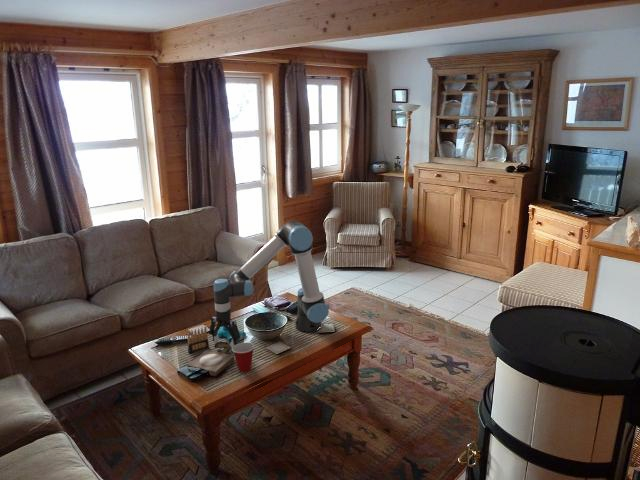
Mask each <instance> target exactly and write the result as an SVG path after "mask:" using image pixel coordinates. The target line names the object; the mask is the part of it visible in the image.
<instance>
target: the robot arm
mask: <svg viewBox="0 0 640 480" xmlns="http://www.w3.org/2000/svg"><path fill="white" fill-rule="evenodd" d="M313 241H314V238H313V234H312V231H310V229H309V228H308V227H306V226H305V225H304V224H303V223H301V222H300V221H297V220H291V221H287V222H286V223H285V224H283V225H282V226H281V227H280V228H279V229H277V231H275V233H274V235H273V237H272V238H271V239H270V240H269V241H268V242H266V244H265V245H264V246H262V248H260V249H259V250H258V251H257V252H256V253H255V254H254V255H253V256H252V257H251V258H250V259H249V260H248V261H247V262H246V263H245V264H243V265H242V266H241V267H240V268H239V269H238V270H234V271H232V272H231V274H230V275H229V280H228V279H227V278H219V279H215V281H214V282H213V297H214V299H213V300H214V309H215V310H214V311H215V313H214V314H215V315H214V316H212V317H211V318H210V321H211V322H210V327H209V331H208V332H209V335H211V336H212V341H213V343H214V344H213V345H214V346H215V344H216V343H217V342H220V341H219V337H218V335H217V332H218V330H219V329H220V328H222V327H226V329H227V330H228V331H229V333H230V335H231V337H232V340H231V341H232V347H233V346H234V345H237V344H238V342H237V340H238V339H240V338H241V337H240V334H239V331H240V330H239V328H238V325H237V320H236V319H234V320H233V319H232V318H231V316H232V312H231V301H230V300H231V298H239V297H248V296H252V295H254V283H253V281H252V280H250V279H251V278H252V277H253V276H254V275H256V274H257V273H258V272H259V271H260V270H261V269H262V268H263V267H264V266H265V265H267V263H269V261H271V260H272V259H273V258H274V257H275V256H276V255H277V254H278V253H280V251H281V250H283V248H284V247H285V248H286V247H289V250H290V253H291V254H292V256H293V255H294V259H295V262H296V267H297V271H298V275H299V281H300V284H301V288H299V289H298V290H297V316H296V319H295V323H294V327H295V329H296V330H297V331H299V330H300V331H299V332H302V331H303V333H313V332H312V331H314V332H316V330H317V329H318V328H319V327H321V325H323V323H322V322H324V321H325V320H326V319H327V317H328V316H329V311H330V309H329V307H328V305H327V303H326V301H325V297H324V293H323V292H321V291H320V287H319V283H318V278H317V274H316V269H315V264H314V260H313V257H312V250H313V249H314V247H313ZM216 323H217V324H216ZM321 328H322V327H321ZM238 330H239V331H238ZM304 331H305V332H304ZM317 331H318V330H317ZM238 341H239V340H238ZM231 351H232V350H231ZM232 353H233V351H232Z"/></svg>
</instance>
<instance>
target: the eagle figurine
mask: <svg viewBox="0 0 640 480" xmlns="http://www.w3.org/2000/svg"><path fill="white" fill-rule="evenodd" d="M213 347H214V349H222V350H221V351H219V352H220V353H225V354H229V353H230V351H232V342H231V340H230V341H228V340H227V341H219V342H217V343H216V344H215V345H214V346H213Z"/></svg>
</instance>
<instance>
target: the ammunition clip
mask: <svg viewBox="0 0 640 480" xmlns="http://www.w3.org/2000/svg"><path fill="white" fill-rule="evenodd" d="M209 348H210V344H209V337H208V332H207V327H206V326H204V328H203V327H201V328H197V330H196V329H194V331H193V330H191V331H189V330H187V352H188V354H192V353H196V352H199V351H203V350H205V349H206V350H208V349H209Z"/></svg>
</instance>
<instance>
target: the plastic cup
mask: <svg viewBox="0 0 640 480" xmlns="http://www.w3.org/2000/svg"><path fill="white" fill-rule="evenodd" d="M254 349H255V344H254V343H251V342H240V343H237V345H234V346H233V347H232V350H231V351H233V352H232V353H233V355H234V360H235V362H236V366H237V369H238V371H239V372H241V373H247V372H249V371H251V369H252V362H253V354H254Z"/></svg>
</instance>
